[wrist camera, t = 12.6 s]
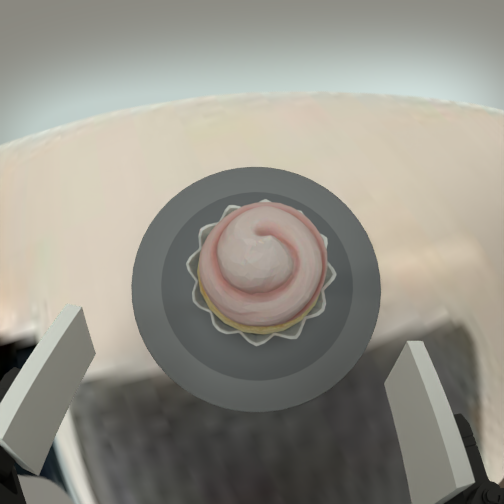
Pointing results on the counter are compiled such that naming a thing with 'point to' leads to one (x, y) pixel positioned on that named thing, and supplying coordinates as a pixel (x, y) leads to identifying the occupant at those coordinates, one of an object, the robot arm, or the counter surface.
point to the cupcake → (261, 271)
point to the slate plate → (235, 345)
